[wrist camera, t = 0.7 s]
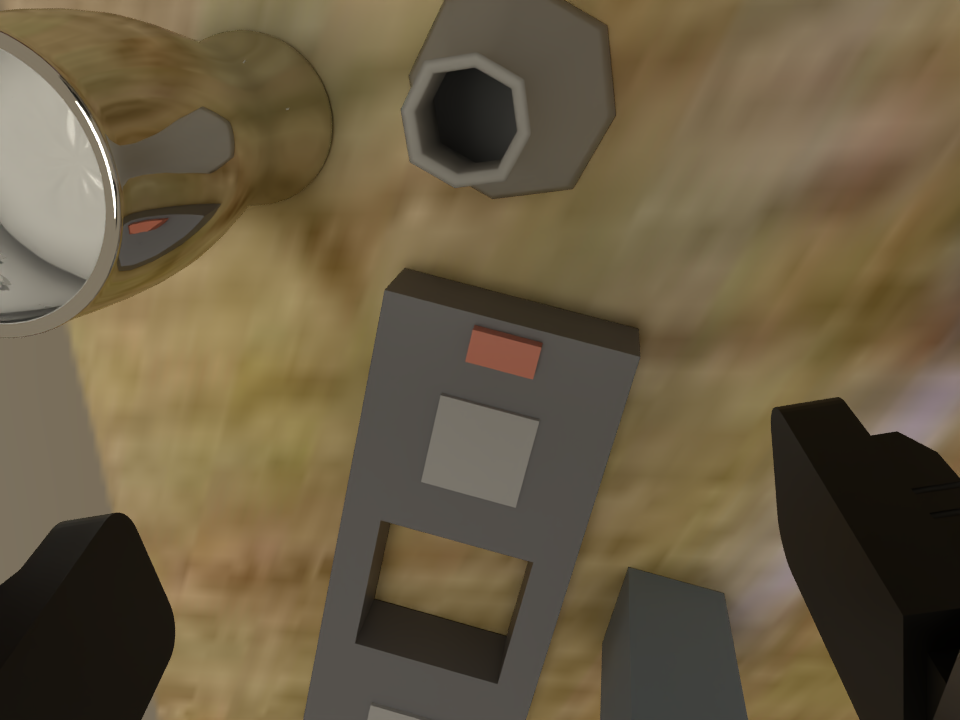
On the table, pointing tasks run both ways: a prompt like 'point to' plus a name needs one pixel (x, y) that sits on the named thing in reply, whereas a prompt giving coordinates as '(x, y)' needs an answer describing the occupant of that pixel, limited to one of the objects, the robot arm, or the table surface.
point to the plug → (669, 654)
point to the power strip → (467, 492)
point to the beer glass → (137, 153)
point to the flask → (509, 96)
